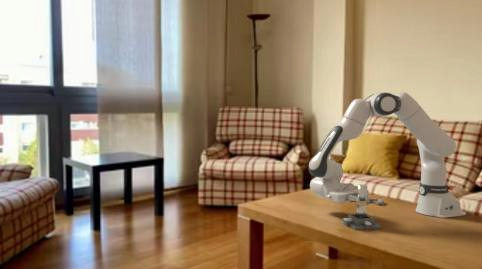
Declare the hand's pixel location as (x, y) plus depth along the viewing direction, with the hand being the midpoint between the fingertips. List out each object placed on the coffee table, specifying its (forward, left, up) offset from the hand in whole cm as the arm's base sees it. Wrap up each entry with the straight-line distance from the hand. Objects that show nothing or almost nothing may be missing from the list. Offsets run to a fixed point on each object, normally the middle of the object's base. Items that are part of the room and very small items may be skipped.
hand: (363, 198), depth 179 cm
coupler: (0, -1, -8) cm, 8 cm away
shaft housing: (0, -1, -12) cm, 12 cm away
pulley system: (-19, -41, -12) cm, 47 cm away
